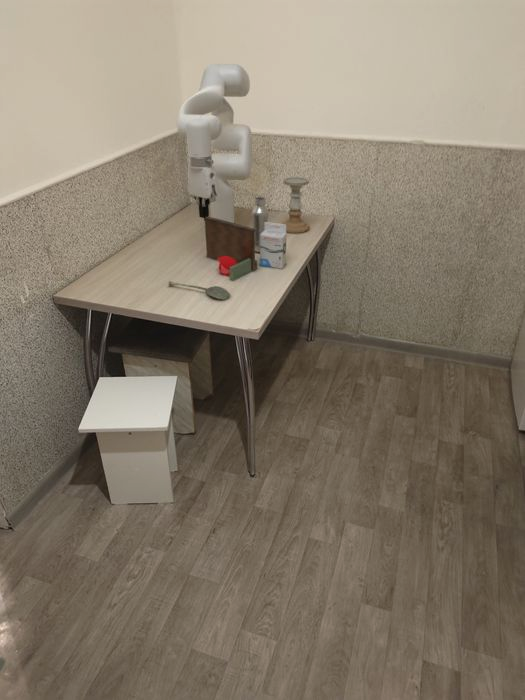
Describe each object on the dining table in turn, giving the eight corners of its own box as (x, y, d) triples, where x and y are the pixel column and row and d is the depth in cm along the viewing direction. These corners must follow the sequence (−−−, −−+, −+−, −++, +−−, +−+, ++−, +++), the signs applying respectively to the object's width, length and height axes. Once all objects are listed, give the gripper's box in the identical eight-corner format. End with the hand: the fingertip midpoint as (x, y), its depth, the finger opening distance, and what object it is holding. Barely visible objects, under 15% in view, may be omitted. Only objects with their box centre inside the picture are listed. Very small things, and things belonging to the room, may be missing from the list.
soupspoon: (222, 304, 159) (232, 297, 164) (223, 294, 157) (233, 287, 162) (164, 289, 167) (175, 282, 172) (163, 279, 165) (175, 273, 170)
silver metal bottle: (271, 249, 197) (271, 197, 186) (264, 255, 192) (264, 202, 181) (256, 246, 199) (255, 195, 188) (248, 252, 194) (247, 199, 183)
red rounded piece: (241, 271, 179) (241, 255, 176) (235, 277, 174) (235, 261, 171) (220, 268, 181) (219, 252, 178) (214, 274, 177) (213, 258, 173)
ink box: (259, 266, 183) (259, 226, 175) (263, 260, 187) (263, 221, 179) (282, 269, 181) (282, 228, 173) (286, 263, 185) (287, 224, 177)
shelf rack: (186, 265, 184) (183, 224, 176) (211, 254, 192) (209, 214, 184) (235, 281, 172) (233, 238, 164) (258, 269, 181) (258, 227, 173)
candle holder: (314, 227, 218) (316, 178, 208) (300, 235, 210) (302, 185, 199) (289, 222, 224) (290, 175, 213) (274, 230, 215) (275, 181, 204)
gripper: (225, 162, 163) (227, 218, 174) (191, 155, 171) (196, 209, 181) (209, 167, 158) (213, 224, 169) (175, 160, 166) (181, 215, 176)
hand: (204, 216), depth 175 cm, fingers closed
